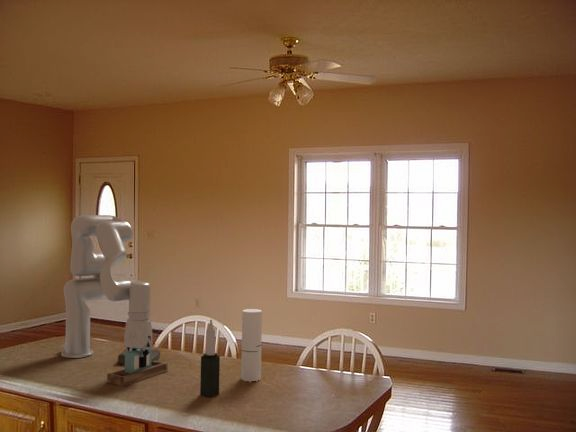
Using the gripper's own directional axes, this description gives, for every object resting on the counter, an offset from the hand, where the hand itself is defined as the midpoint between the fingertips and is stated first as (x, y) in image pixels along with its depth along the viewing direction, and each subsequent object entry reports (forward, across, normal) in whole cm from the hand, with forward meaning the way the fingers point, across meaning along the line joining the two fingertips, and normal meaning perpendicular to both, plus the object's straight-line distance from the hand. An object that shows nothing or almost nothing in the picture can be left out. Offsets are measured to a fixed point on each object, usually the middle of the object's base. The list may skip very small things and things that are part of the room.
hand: (138, 365), depth 207 cm
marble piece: (+5, -14, +15) cm, 21 cm away
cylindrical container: (+4, +36, +20) cm, 41 cm away
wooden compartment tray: (+4, 0, 0) cm, 4 cm away
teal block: (+1, 0, 0) cm, 1 cm away
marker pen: (+4, +34, -2) cm, 34 cm away
